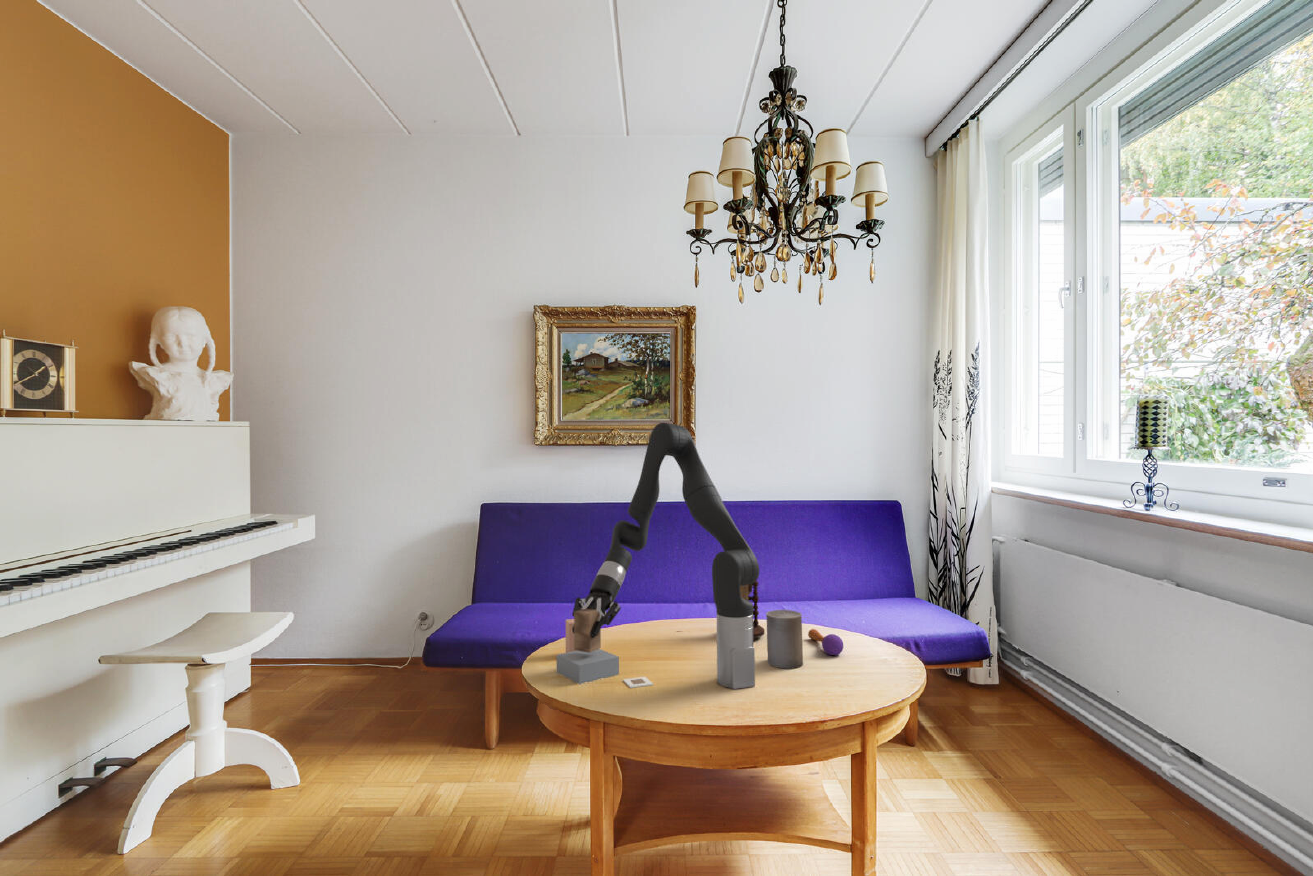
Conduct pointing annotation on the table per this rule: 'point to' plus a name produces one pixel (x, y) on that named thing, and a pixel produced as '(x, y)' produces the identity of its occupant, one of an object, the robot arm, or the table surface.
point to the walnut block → (585, 631)
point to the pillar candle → (784, 638)
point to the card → (637, 682)
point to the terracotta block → (569, 635)
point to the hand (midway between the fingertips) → (583, 634)
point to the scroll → (745, 594)
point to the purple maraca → (828, 642)
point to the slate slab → (587, 665)
